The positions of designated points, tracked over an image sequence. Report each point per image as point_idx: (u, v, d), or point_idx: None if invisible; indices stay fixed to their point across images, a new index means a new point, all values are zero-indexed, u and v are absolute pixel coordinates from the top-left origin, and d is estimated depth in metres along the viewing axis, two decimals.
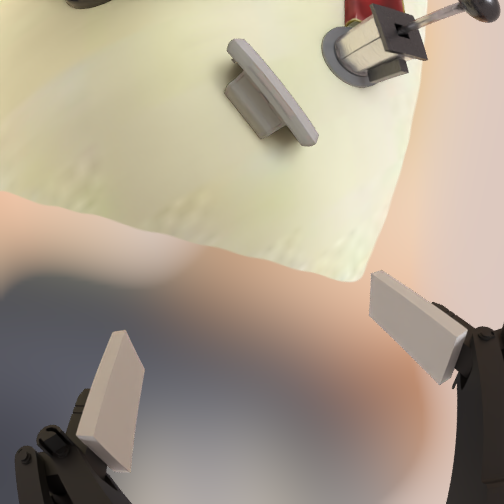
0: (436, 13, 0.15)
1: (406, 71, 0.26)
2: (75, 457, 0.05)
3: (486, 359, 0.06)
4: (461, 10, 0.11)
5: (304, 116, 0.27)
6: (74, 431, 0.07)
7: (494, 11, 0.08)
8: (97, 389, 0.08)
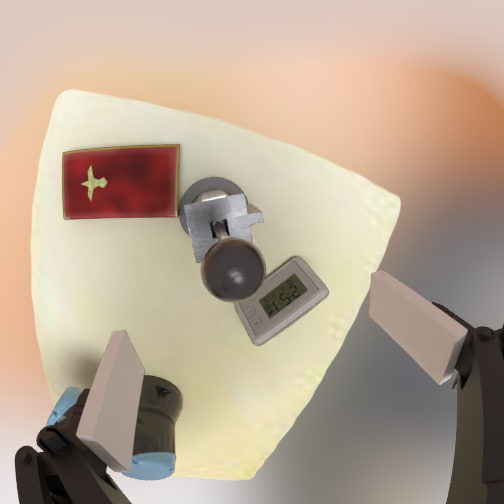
0: None
1: (261, 214, 0.37)
2: (75, 457, 0.05)
3: (486, 359, 0.06)
4: None
5: (312, 300, 0.44)
6: (74, 431, 0.07)
7: (262, 277, 0.20)
8: (97, 389, 0.08)
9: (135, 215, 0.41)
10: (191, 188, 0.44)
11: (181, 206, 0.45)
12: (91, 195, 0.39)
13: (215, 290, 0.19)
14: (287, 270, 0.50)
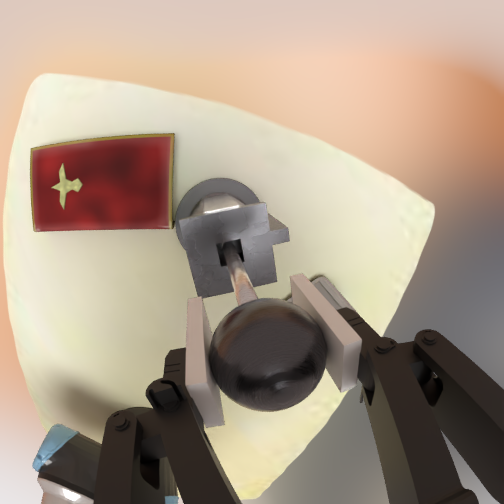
0: None
1: (287, 231, 0.27)
2: (185, 413, 0.07)
3: (390, 374, 0.07)
4: None
5: None
6: None
7: (322, 373, 0.10)
8: (194, 344, 0.10)
9: (118, 226, 0.31)
10: (190, 192, 0.34)
11: (178, 215, 0.35)
12: (63, 201, 0.29)
13: (238, 401, 0.09)
14: None
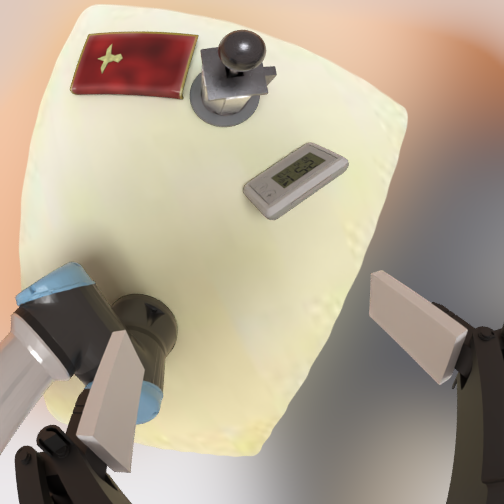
0: (235, 74, 0.29)
1: (274, 68, 0.31)
2: (75, 457, 0.05)
3: (486, 359, 0.06)
4: None
5: (331, 167, 0.38)
6: (74, 431, 0.07)
7: (263, 46, 0.21)
8: (97, 389, 0.08)
9: (140, 88, 0.35)
10: None
11: (192, 87, 0.39)
12: (103, 68, 0.33)
13: (228, 49, 0.21)
14: (301, 151, 0.45)
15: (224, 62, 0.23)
